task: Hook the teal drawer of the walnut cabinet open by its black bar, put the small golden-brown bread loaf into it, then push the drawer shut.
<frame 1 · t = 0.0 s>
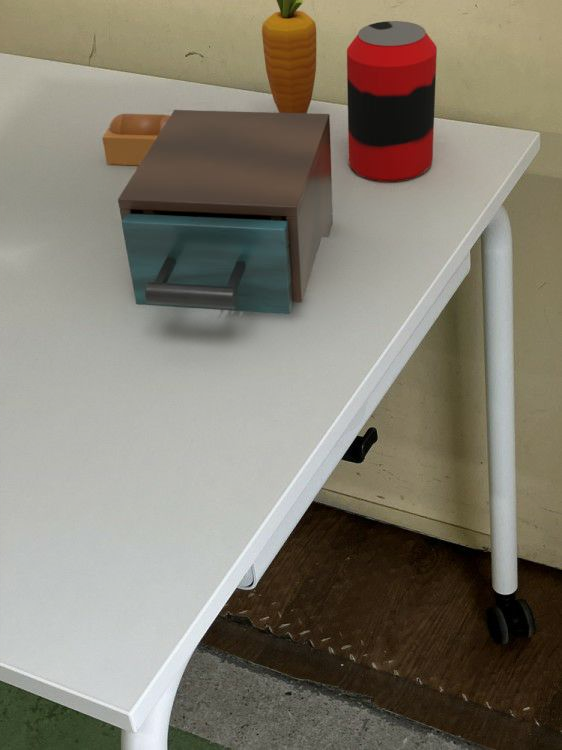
carrot: (294, 133, 98), on the table
drawer: (222, 241, 74), point 5 cm above the table, slide at 0.3 cm
soda can: (390, 165, 92), on the table
cabinet: (240, 264, 80), on the table
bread: (149, 155, 96), on the table
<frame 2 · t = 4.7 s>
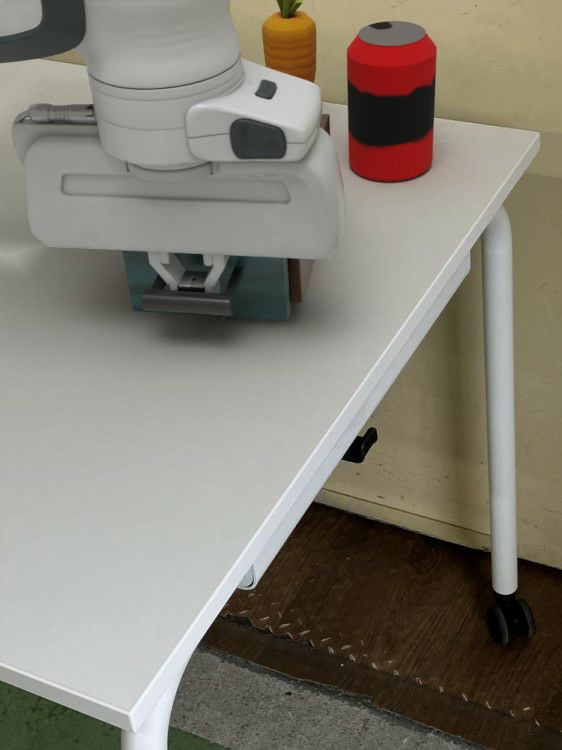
hand: (197, 300, 68), 5 cm above the table, tool pointing down, fingers closed
drawer: (219, 247, 73), point 5 cm above the table, slide at 1.1 cm, touching gripper
everything else where it was.
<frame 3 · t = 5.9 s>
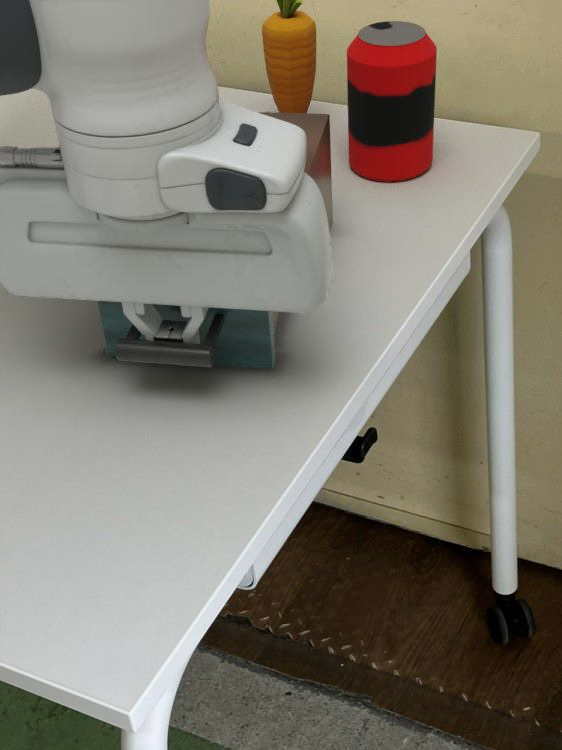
hand: (175, 351, 64), 5 cm above the table, tool pointing down, fingers closed, pressing on drawer
drawer: (200, 289, 69), point 5 cm above the table, slide at 6.6 cm, touching gripper
everything else where it was.
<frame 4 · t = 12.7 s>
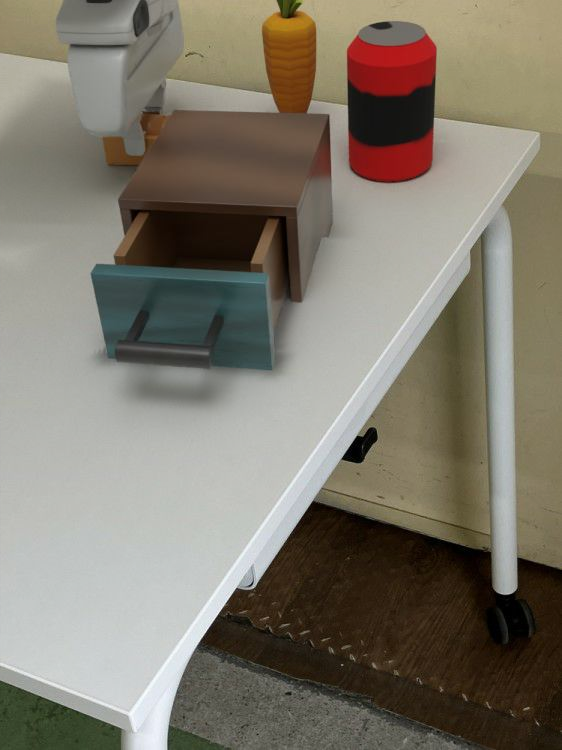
hand: (146, 138, 95), 2 cm above the table, tool pointing down, fingers closed on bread, 4 cm apart
drawer: (200, 290, 69), point 5 cm above the table, slide at 6.7 cm
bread: (149, 155, 96), on the table, touching gripper
everything else where it was.
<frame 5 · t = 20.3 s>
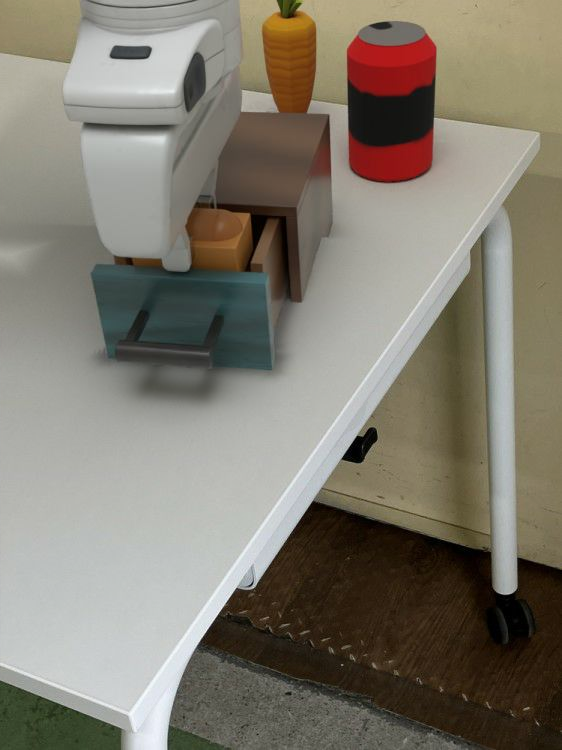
hand: (191, 242, 66), 9 cm above the table, tool pointing down, fingers closed on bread, 4 cm apart
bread: (195, 264, 67), point 7 cm above the table, touching gripper
everything else where it was.
when the fingers open (12 cm above the table, at t = 36.6 s): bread drops 8 cm, resting on drawer.
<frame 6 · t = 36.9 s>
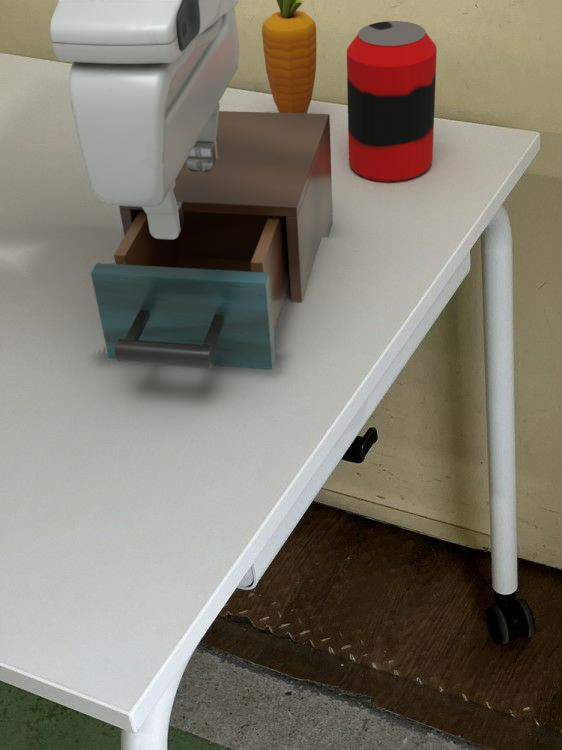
hand: (186, 198, 64), 12 cm above the table, tool pointing down, fingers open, 7 cm apart
drawer: (200, 290, 69), point 5 cm above the table, slide at 6.7 cm, touching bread
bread: (203, 327, 70), point 2 cm above the table, touching drawer
everything else where it was.
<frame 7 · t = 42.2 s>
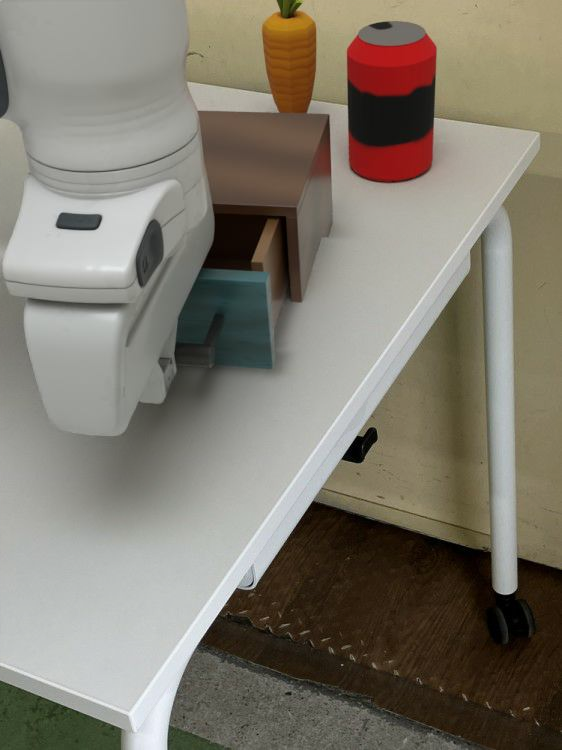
hand: (157, 388, 61), 5 cm above the table, tool pointing down, fingers closed
drawer: (200, 289, 69), point 5 cm above the table, slide at 6.6 cm, touching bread, gripper
everything else where it was.
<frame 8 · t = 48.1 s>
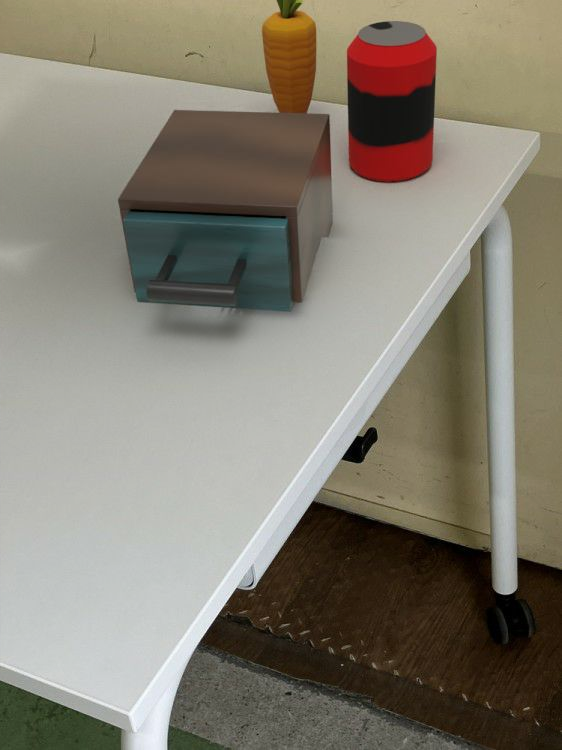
drawer: (223, 239, 74), point 5 cm above the table, slide at 0.0 cm, touching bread, cabinet
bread: (226, 274, 75), point 2 cm above the table, touching drawer
everything else where it was.
at the end: drawer pulled out 6.7 cm at the most during the clip, back to where it started at the end; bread inside the target area in the cabinet (4.5 cm from its centre), point 2.0 cm above the cabinet's base; drawer slide at 0.0 cm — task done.
